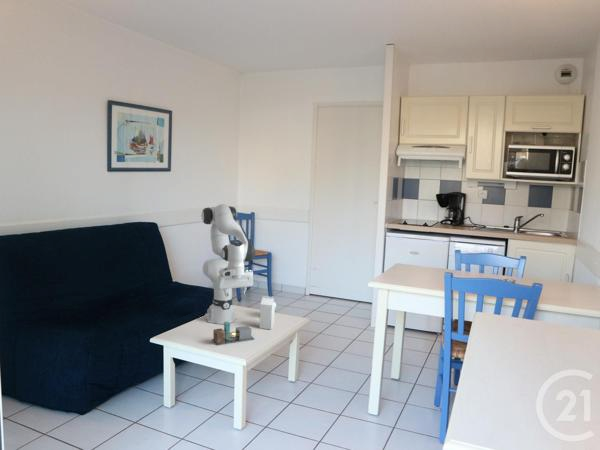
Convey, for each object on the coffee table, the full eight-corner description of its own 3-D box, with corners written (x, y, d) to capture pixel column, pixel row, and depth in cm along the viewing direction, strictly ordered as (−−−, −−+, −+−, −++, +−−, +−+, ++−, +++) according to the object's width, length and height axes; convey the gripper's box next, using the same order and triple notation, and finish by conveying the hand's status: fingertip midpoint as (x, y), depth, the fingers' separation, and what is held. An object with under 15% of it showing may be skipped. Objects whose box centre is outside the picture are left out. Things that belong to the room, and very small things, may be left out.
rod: (241, 335, 269) (241, 319, 268) (243, 337, 266) (244, 321, 265) (219, 339, 263) (219, 322, 262) (221, 341, 260) (222, 324, 259)
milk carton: (271, 329, 285) (272, 298, 282) (259, 328, 286) (260, 297, 284) (274, 326, 291) (275, 295, 289) (262, 324, 293) (263, 294, 291)
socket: (221, 339, 265) (221, 328, 264) (225, 343, 260) (225, 331, 259) (213, 340, 263) (213, 329, 262) (217, 344, 257) (217, 332, 257)
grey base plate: (248, 335, 274) (249, 324, 273) (254, 339, 267) (254, 329, 267) (211, 340, 263) (212, 329, 262) (216, 345, 256) (217, 334, 256)
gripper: (251, 268, 269) (250, 292, 271) (216, 270, 259) (215, 295, 261) (255, 270, 264) (254, 295, 266) (220, 273, 254) (219, 298, 256)
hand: (234, 295), depth 264 cm, fingers open, 8 cm apart
